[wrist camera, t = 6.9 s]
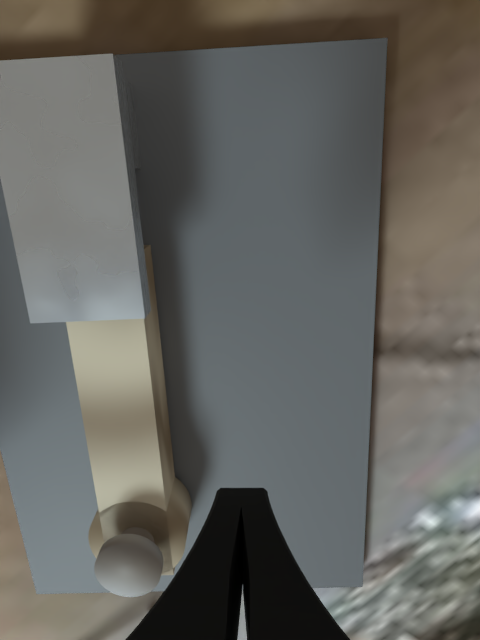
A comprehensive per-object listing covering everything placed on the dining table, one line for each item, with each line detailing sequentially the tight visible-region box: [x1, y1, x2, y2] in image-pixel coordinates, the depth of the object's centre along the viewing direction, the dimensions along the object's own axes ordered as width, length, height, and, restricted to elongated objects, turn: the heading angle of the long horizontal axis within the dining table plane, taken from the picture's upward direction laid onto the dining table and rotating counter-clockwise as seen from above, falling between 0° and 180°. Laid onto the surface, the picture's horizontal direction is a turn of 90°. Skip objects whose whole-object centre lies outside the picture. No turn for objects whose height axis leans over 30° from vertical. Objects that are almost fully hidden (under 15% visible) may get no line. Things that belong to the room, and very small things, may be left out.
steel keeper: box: [0, 54, 151, 323], centre depth 16 cm, size 8×4×4 cm, turn 3°
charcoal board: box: [0, 38, 387, 594], centre depth 21 cm, size 18×26×1 cm
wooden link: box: [66, 245, 192, 597], centre depth 19 cm, size 15×4×4 cm, turn 3°
